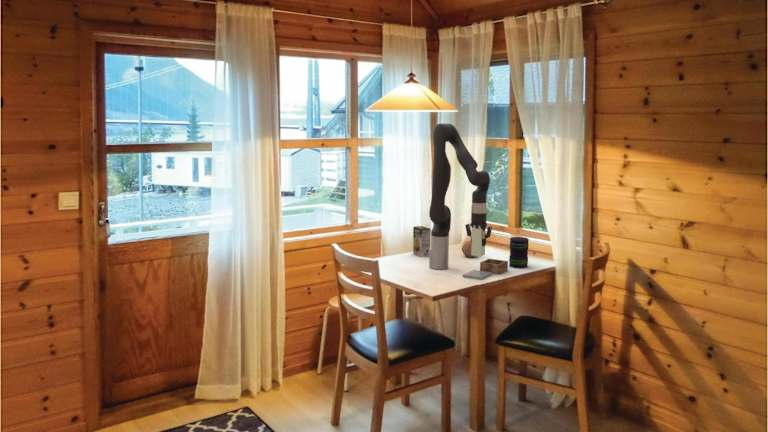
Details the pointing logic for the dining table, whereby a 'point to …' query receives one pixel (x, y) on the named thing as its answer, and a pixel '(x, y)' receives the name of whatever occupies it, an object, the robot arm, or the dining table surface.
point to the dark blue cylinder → (518, 252)
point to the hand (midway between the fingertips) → (478, 245)
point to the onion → (467, 249)
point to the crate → (494, 266)
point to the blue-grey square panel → (477, 274)
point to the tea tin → (477, 243)
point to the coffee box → (421, 241)
